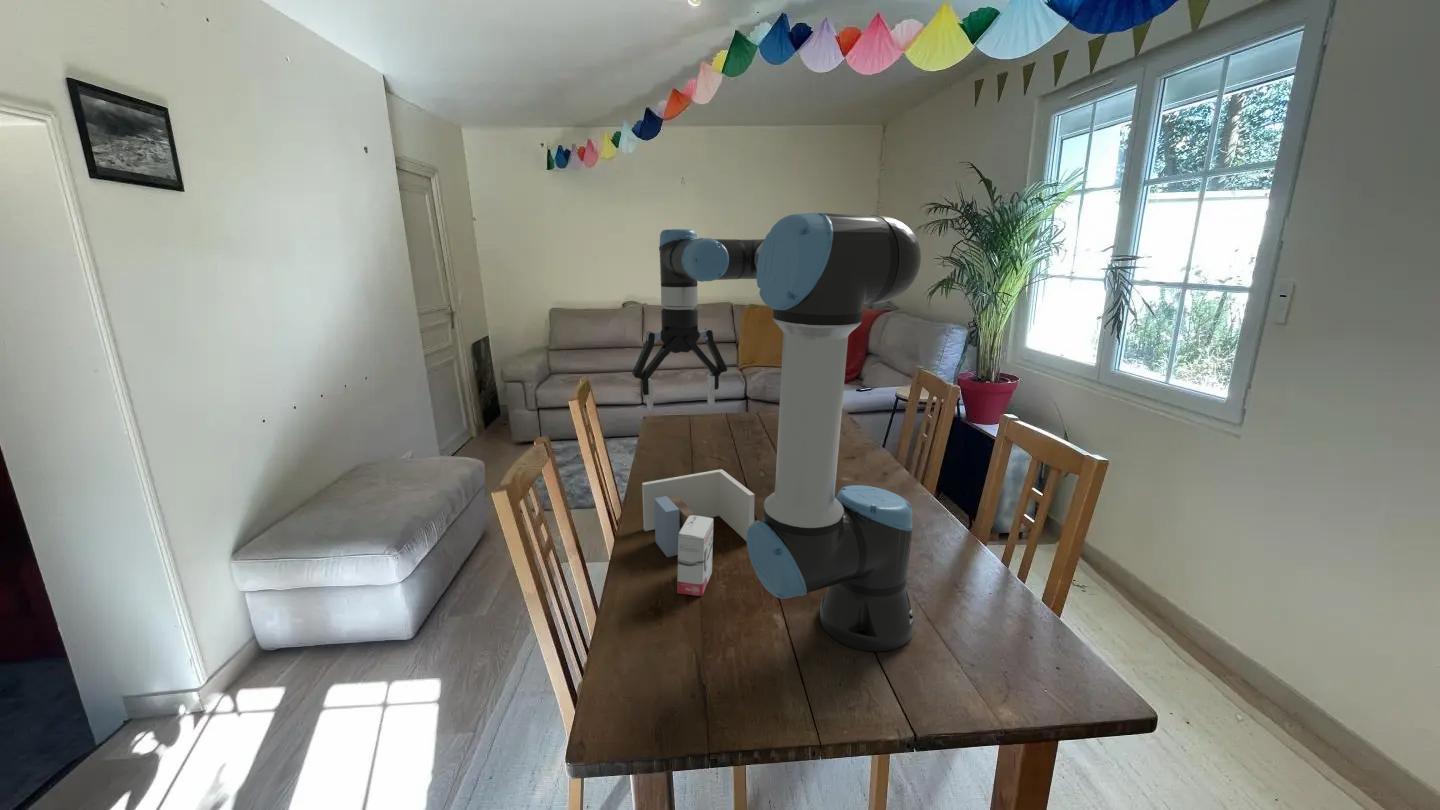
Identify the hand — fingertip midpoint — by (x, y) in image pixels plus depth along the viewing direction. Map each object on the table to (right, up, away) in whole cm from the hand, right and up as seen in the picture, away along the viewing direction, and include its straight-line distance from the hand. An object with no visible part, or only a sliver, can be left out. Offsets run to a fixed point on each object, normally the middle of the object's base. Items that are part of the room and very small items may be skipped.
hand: (681, 406), depth 126 cm
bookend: (+1, -29, -4) cm, 29 cm away
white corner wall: (+3, -28, +1) cm, 28 cm away
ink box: (+4, -33, -17) cm, 37 cm away
